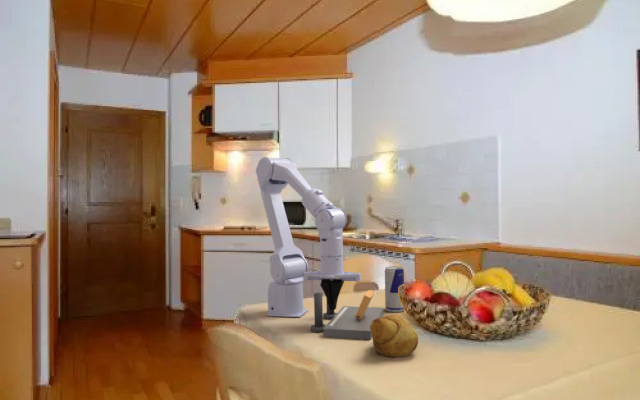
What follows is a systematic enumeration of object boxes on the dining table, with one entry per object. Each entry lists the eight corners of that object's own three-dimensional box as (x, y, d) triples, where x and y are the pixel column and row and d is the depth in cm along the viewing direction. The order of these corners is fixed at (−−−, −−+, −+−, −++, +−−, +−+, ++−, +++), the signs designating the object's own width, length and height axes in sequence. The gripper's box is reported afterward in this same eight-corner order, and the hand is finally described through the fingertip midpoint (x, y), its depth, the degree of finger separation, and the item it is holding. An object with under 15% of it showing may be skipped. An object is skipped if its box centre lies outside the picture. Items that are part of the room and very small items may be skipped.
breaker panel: (323, 337, 111) (323, 327, 111) (343, 313, 132) (343, 305, 132) (370, 339, 108) (370, 330, 108) (383, 315, 129) (383, 307, 129)
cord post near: (308, 332, 115) (307, 295, 115) (313, 327, 119) (312, 291, 119) (324, 333, 114) (323, 295, 114) (328, 328, 118) (328, 292, 118)
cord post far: (321, 319, 126) (320, 285, 126) (325, 315, 130) (324, 282, 130) (336, 320, 125) (335, 285, 125) (339, 316, 129) (338, 283, 129)
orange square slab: (354, 318, 117) (364, 295, 116) (358, 312, 123) (368, 290, 122) (360, 321, 117) (370, 297, 116) (364, 315, 122) (374, 292, 122)
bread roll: (374, 339, 108) (373, 304, 108) (417, 341, 107) (417, 305, 107) (369, 359, 96) (368, 319, 96) (418, 361, 94) (418, 321, 94)
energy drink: (406, 312, 132) (405, 269, 131) (386, 312, 132) (385, 269, 132) (403, 307, 137) (402, 266, 137) (384, 308, 137) (383, 266, 137)
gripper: (299, 257, 119) (300, 311, 120) (357, 258, 116) (358, 314, 116) (307, 253, 126) (308, 304, 126) (362, 254, 122) (363, 307, 123)
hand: (332, 308), depth 122 cm, fingers closed
